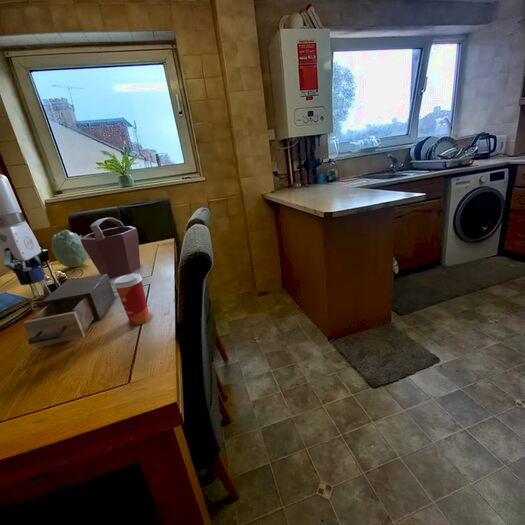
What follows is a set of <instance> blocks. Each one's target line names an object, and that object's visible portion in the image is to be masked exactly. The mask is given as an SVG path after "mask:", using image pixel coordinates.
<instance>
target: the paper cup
mask: <svg viewBox="0 0 525 525" xmlns="http://www.w3.org/2000/svg"><path fill="white" fill-rule="evenodd" d="M113 288H115V290H116V292H117V294H118V297H119V299H120V303H121V304H122V308H123V309H124V312H125V314H126V316H127V319H128V321H129V323H130V325H132V326H139V325H142V324H145V323H147V322H148V321H149V320H150V319H151V317H150V311H149V307H148V301H147V298H146V294H145V290H144V284H143V277H142V276H141V275H140V273H128V274H125V275H120V276H118V277H117V278H115V280H114V281H113Z"/></svg>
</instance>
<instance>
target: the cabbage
mask: <svg viewBox="0 0 525 525" xmlns="http://www.w3.org/2000/svg"><path fill="white" fill-rule="evenodd" d="M83 237H84V236H83V235H82V234H80V235H78V234H77V232H72V231H70V230H68V229H63V230H61V231H59V232H57V233H54V235H52V237H51V242H52V243H51V250H52V254H53V256H54V258H55V259H56V261H57V262H58V263H59V264H60V265H62V266H64V267H67V268H77V267H81V266H83V265H84V264H85V263H86V262H87V261H88V260H89V258H90V257H89V255H88V254H87V252H86V250H85V249H84V247H83V245H82V243H81V240H80V239H81V238H83Z"/></svg>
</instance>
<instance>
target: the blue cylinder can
mask: <svg viewBox="0 0 525 525" xmlns="http://www.w3.org/2000/svg"><path fill="white" fill-rule="evenodd" d="M41 266H42V265H41ZM41 266H40V265H36V266H30V267H28V266H26V269H27V270H29V272H30V274H31V276H32V279H33V281H34V283H32V284H31V285H33V284H36V283H40V282H42V281H44V280H46V274H45V275H44V273H45V272H44V273H43V271H42V268H43V267H42V268H41ZM29 285H30V284H27V285H26V286H29Z"/></svg>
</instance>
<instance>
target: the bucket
mask: <svg viewBox="0 0 525 525" xmlns="http://www.w3.org/2000/svg"><path fill="white" fill-rule="evenodd" d="M104 221H109V222H112V223H114V224H115V225H116V227H111V228H107V229H103V230H102V229H101V228H100V225H101V224H102V223H103V222H104ZM90 229H91V231H93V232H91V233H88V234H86V235H85V236H82V237H83V238H81V239H80V240H81V243H82V245H83V247H84V249H85V250H86V252H87V254H88V255H89V257H88V258H90V260H91V262H92V263H93V265H94V267H95V268H96V269H97V271H98V273H99V275H102V274H108V277H109V278H116V277H121V276H125V275H128V274H132V272H134V271H136V270H137V269H139V268H140V267H141V258H140V244H139V242H140V241H139V233H138V230H137V227H134V226H131V225H127V226H125V225H124V223H123V222H122V221H121V220H120V219H117V218H115V217H111V216H110V217H104V218H100V219H97V220H96V221H94V222H93V223H91V225H90Z"/></svg>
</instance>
